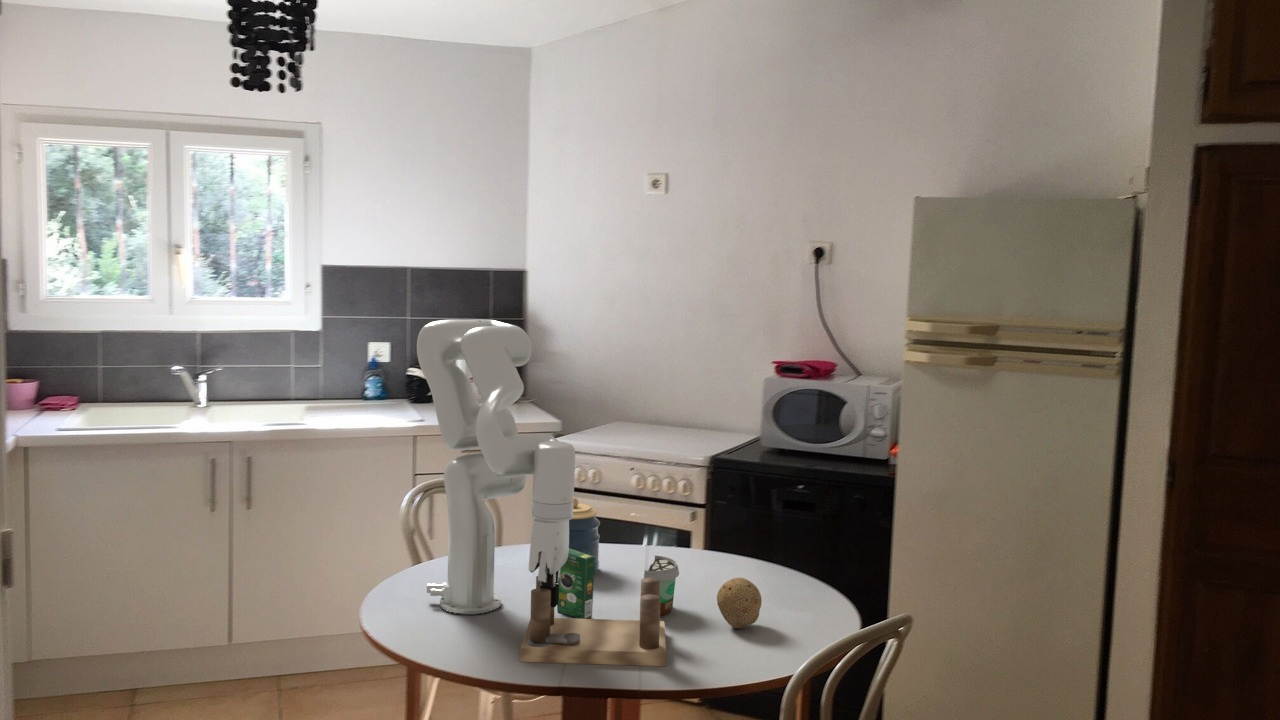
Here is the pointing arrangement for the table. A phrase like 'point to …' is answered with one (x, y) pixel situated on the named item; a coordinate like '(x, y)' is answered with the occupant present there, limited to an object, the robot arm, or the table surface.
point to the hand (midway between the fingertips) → (548, 604)
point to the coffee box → (576, 585)
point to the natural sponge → (739, 602)
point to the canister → (584, 531)
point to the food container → (664, 581)
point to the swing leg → (546, 620)
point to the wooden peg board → (606, 637)
